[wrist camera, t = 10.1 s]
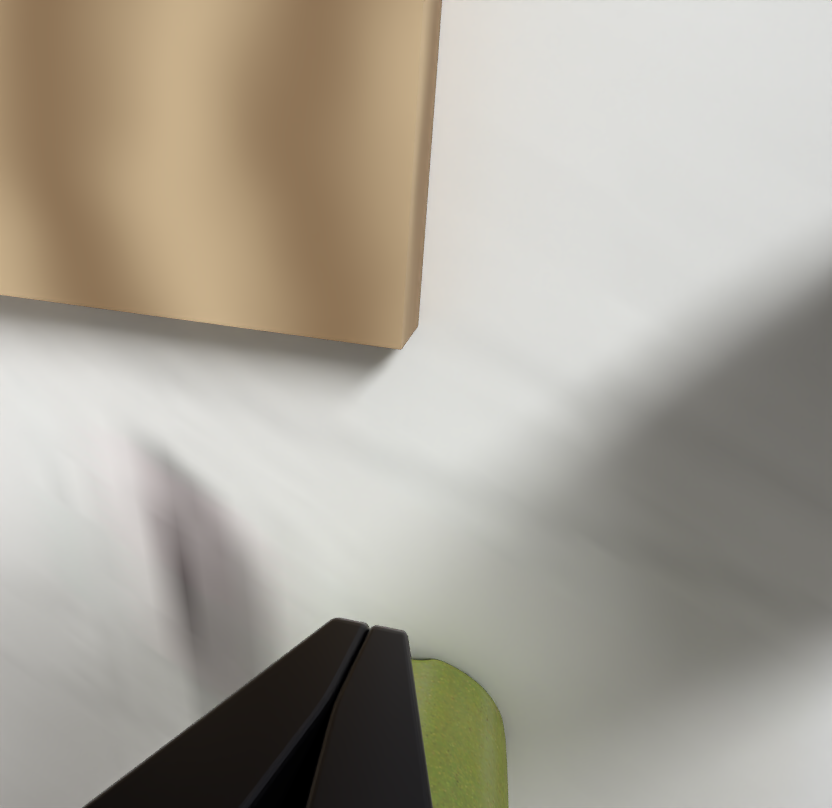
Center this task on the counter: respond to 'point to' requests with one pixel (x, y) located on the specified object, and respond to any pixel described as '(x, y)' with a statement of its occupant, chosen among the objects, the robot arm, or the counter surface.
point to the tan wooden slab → (220, 160)
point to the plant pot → (460, 738)
